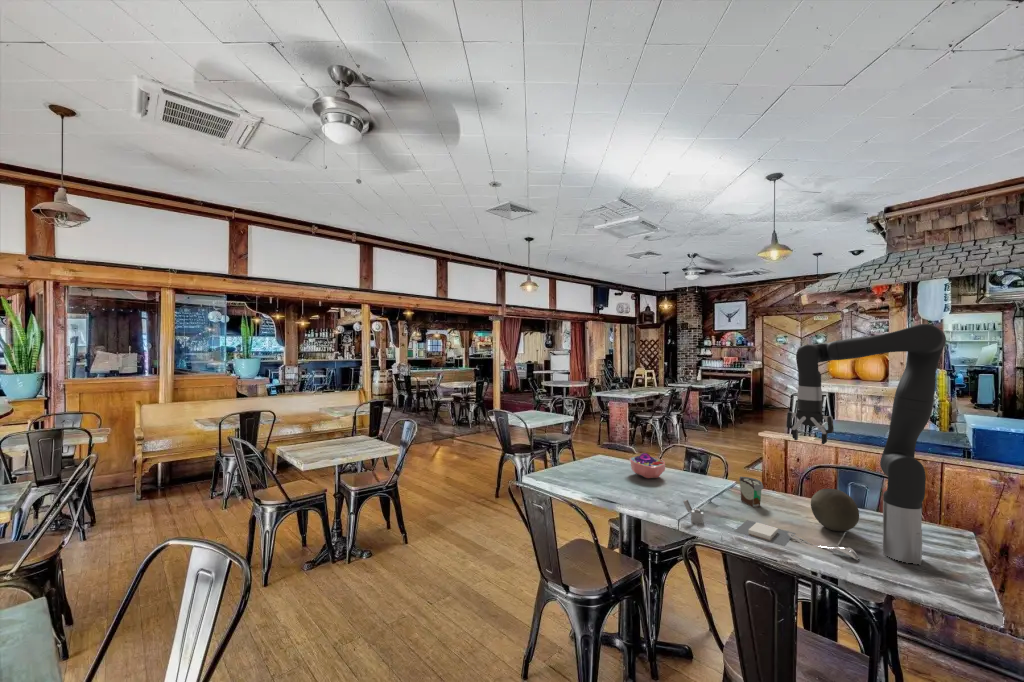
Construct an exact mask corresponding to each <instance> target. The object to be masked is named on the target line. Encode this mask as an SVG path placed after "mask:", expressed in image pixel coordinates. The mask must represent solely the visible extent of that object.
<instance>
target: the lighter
mask: <svg viewBox="0 0 1024 682" xmlns="http://www.w3.org/2000/svg"><path fill="white" fill-rule="evenodd" d="M682 502H683V504H684V507H685V509H686V511H687V512H688V513H689V512H691V514H690V516H691V517H690V520H691V521H690V523H691V524H695V525H698V524H701V525H704V522H705V521H704V520H705V519H704V518H705V517H704V515H705V514H704V511H702V510H701V509H699V508H694V509H692V505H691V504H690V501H689V500H688V499H685V500H682Z"/></svg>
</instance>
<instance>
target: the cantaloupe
mask: <svg viewBox="0 0 1024 682" xmlns="http://www.w3.org/2000/svg"><path fill="white" fill-rule="evenodd" d="M810 507H811V511H812V514H813V516H814V518H815V520H817V521H818V523H819V524H821V526H823V527H824V528H827V529H828V530H830V531H832V532H847V531H849V530H850V531H851V530H853V528H855V527H856V526H857V524H858V523H859V521H860V510H859V508H858V505H857V504H856V501H855V500H854V499H853V497H851V496H850V495H849V494H847V493H846V492H844V491H842V490H840V489H835V488H822V489H820V490H818V491H816V492H815V493H814V494H813V495H812V497H811V499H810Z"/></svg>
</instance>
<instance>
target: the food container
mask: <svg viewBox="0 0 1024 682" xmlns="http://www.w3.org/2000/svg"><path fill="white" fill-rule="evenodd" d="M738 479H739V480H738V481H739V485H740V486H739V489H740V490H739V492H740V501H741V502H743V503H744V504H746V505H748V506H750V507H752V508H761V499H762V498H761V497H762V491H763V490H764V485H763V482H762V481H761V480H759V479H757V478H753V477H748V476H739V478H738Z"/></svg>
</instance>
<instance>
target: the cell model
mask: <svg viewBox="0 0 1024 682" xmlns="http://www.w3.org/2000/svg"><path fill="white" fill-rule="evenodd" d="M629 461H630V468H631V470H632V472H633V473H635V474H636V475H638V476H641V477H643V478H645V479H657V478H659V477H661V475H662V474H663V473H664V472H665V470H666V462H665V460H663V459H661V458H658V457H654V456H651V455H650V453H647V452H642V453H640V455H636V456H631V457H629Z"/></svg>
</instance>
